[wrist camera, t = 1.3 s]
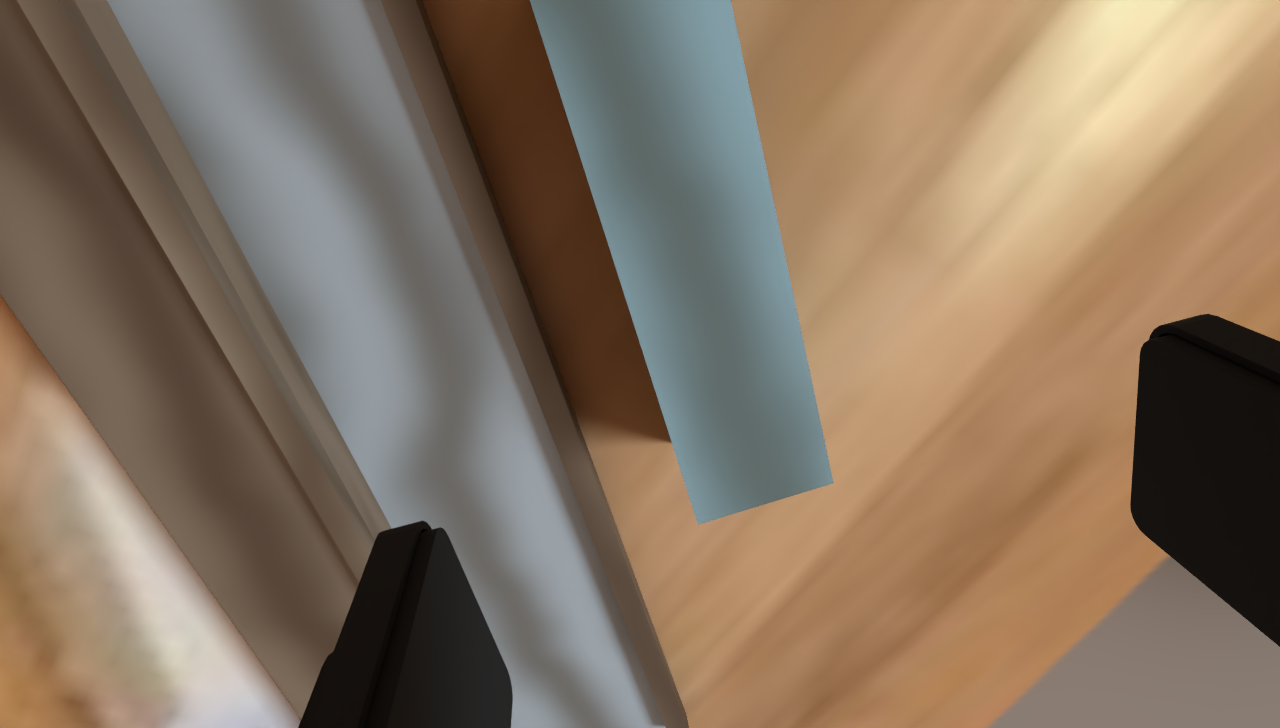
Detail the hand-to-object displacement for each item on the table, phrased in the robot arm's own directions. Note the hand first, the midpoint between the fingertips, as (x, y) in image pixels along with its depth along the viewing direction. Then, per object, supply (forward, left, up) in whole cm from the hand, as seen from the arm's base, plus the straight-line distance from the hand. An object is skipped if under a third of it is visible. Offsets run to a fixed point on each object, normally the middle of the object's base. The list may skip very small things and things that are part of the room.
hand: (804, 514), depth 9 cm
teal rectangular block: (-1, +1, -19) cm, 19 cm away
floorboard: (+13, +7, -19) cm, 24 cm away
